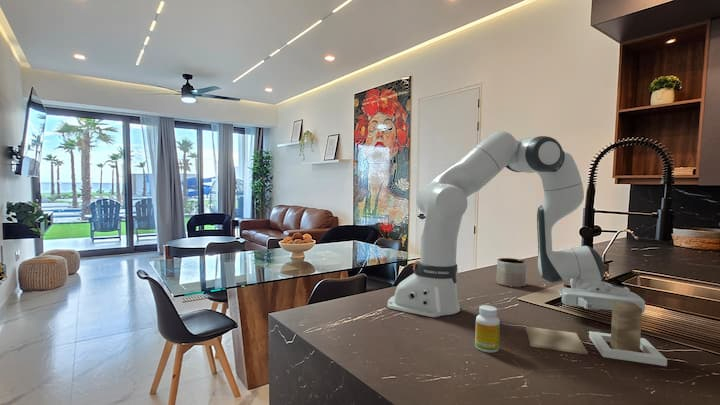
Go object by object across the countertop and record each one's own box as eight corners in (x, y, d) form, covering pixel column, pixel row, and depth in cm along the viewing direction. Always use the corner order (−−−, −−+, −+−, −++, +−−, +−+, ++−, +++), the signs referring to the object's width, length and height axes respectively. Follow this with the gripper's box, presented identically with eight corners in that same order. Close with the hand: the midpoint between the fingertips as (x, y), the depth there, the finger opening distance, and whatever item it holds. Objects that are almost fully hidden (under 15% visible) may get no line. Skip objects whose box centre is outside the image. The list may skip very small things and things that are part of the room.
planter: (499, 287, 142) (500, 262, 142) (493, 280, 153) (494, 257, 152) (529, 289, 140) (530, 264, 140) (521, 281, 151) (522, 258, 151)
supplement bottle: (500, 354, 84) (502, 312, 84) (476, 351, 85) (477, 310, 85) (496, 344, 89) (498, 305, 89) (473, 342, 90) (475, 303, 90)
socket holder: (602, 356, 84) (603, 350, 84) (588, 336, 95) (589, 331, 95) (666, 366, 80) (667, 359, 80) (644, 344, 91) (644, 338, 91)
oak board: (530, 346, 89) (530, 343, 89) (525, 328, 100) (525, 326, 100) (587, 354, 85) (587, 352, 85) (575, 335, 96) (575, 332, 96)
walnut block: (616, 352, 86) (618, 306, 86) (610, 345, 90) (612, 301, 90) (639, 356, 85) (642, 308, 84) (632, 348, 89) (634, 303, 88)
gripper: (557, 280, 116) (566, 292, 103) (634, 288, 109) (654, 301, 96) (556, 300, 116) (565, 314, 103) (633, 308, 109) (652, 325, 96)
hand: (608, 308), depth 100 cm, fingers open, 8 cm apart
